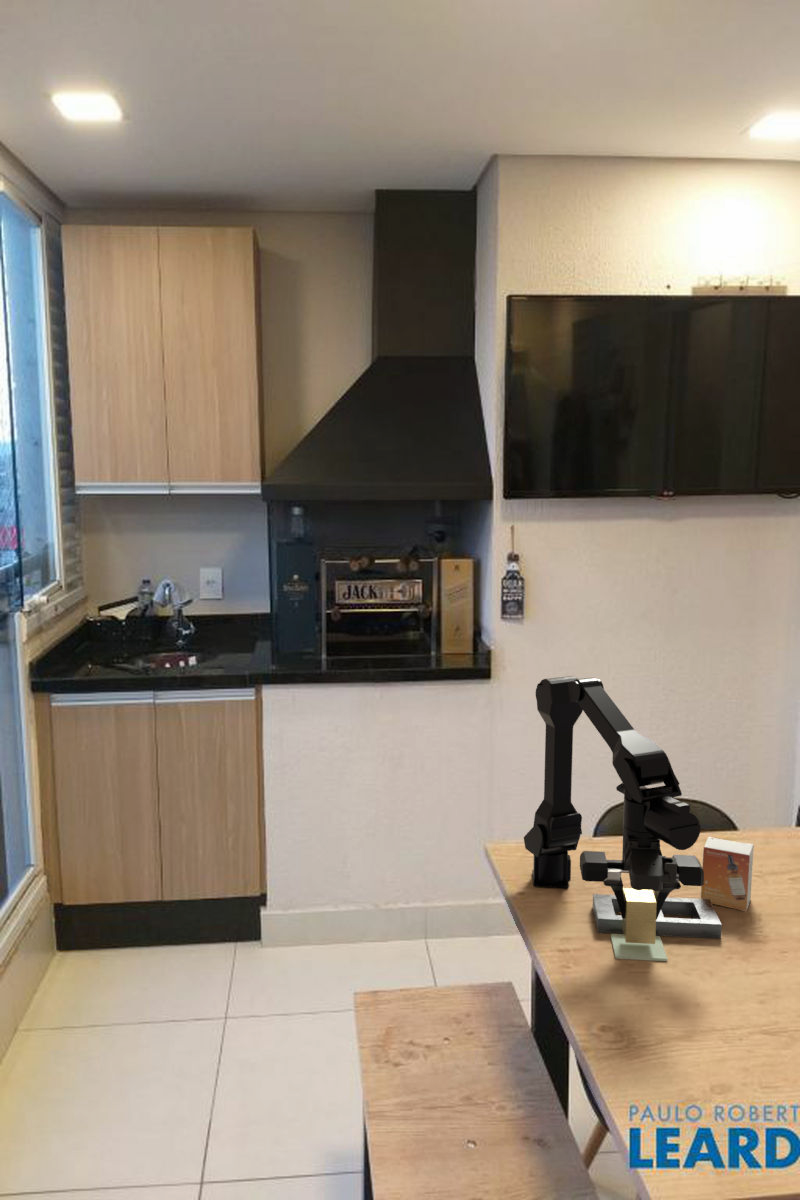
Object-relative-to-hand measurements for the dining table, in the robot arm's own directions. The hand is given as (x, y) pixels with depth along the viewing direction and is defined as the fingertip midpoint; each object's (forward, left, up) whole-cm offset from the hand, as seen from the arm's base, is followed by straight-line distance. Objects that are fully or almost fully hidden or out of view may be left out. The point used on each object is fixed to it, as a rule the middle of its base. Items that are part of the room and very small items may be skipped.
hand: (638, 918), depth 146 cm
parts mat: (0, 0, -5) cm, 5 cm away
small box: (+18, +18, -5) cm, 26 cm away
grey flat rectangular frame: (+4, +9, -5) cm, 11 cm away
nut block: (0, 0, -3) cm, 3 cm away
